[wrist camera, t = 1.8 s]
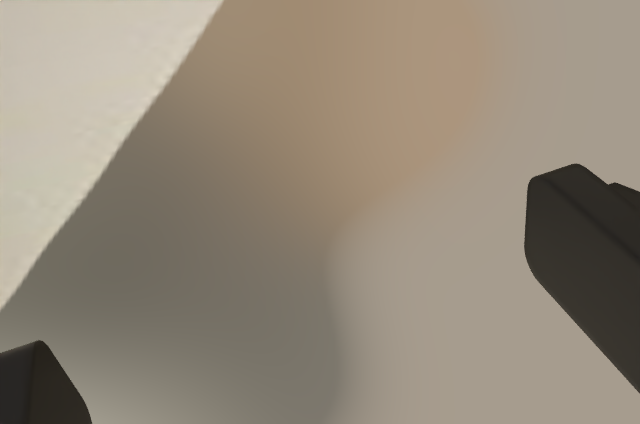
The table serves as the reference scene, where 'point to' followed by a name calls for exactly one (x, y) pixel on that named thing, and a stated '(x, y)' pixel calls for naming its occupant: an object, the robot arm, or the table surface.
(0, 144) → the table surface
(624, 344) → the robot arm
